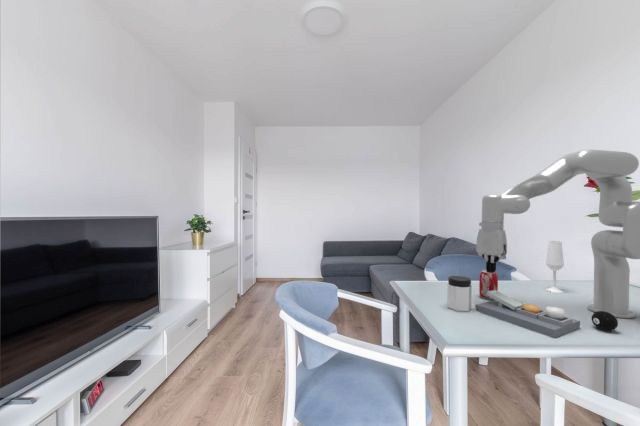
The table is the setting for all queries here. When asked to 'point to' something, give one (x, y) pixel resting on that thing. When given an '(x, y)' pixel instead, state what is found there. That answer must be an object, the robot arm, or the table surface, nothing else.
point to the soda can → (487, 283)
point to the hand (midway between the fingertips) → (490, 272)
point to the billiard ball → (604, 321)
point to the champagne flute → (554, 261)
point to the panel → (529, 319)
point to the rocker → (504, 299)
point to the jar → (459, 293)
